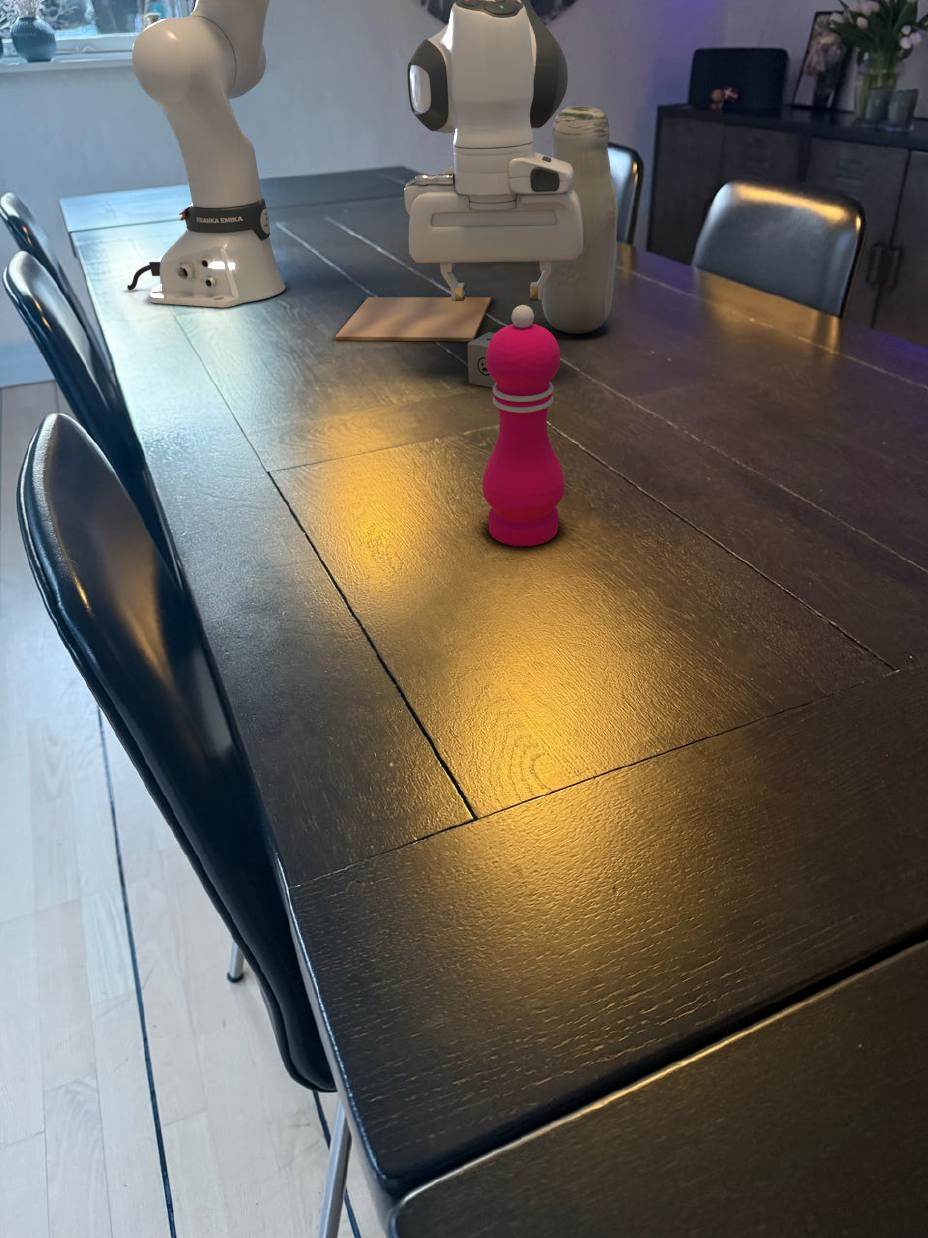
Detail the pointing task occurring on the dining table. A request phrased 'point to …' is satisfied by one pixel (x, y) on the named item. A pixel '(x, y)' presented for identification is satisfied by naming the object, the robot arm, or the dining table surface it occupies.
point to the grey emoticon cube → (479, 361)
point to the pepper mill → (523, 434)
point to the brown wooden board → (416, 319)
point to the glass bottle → (585, 225)
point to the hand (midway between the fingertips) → (497, 299)
